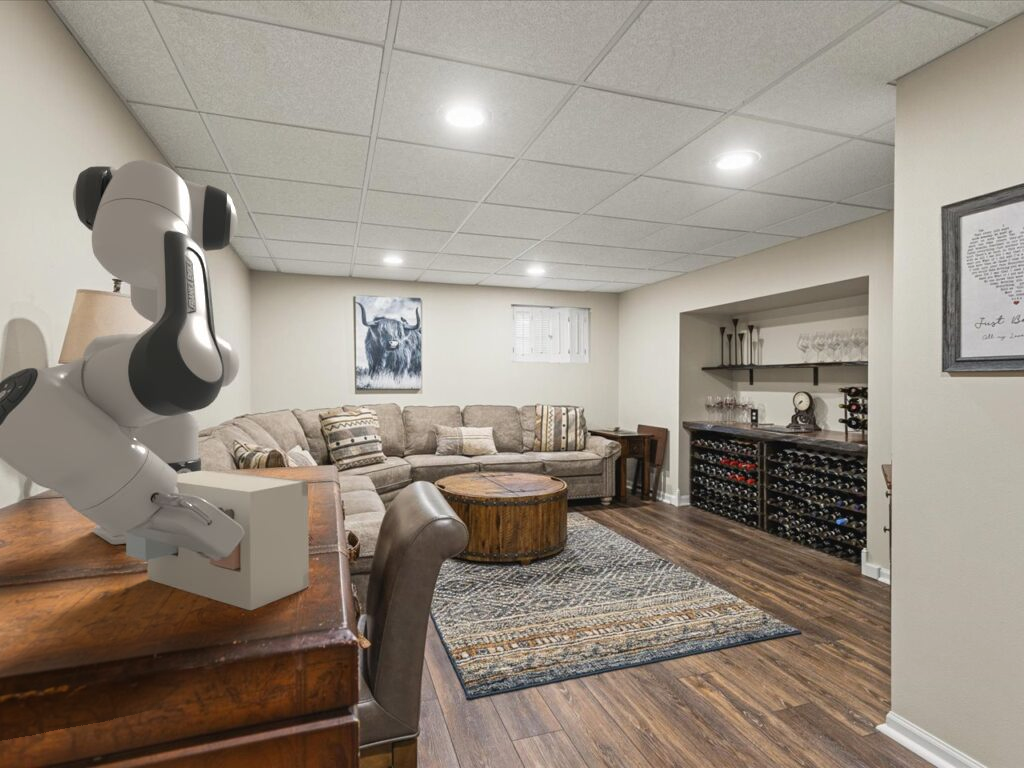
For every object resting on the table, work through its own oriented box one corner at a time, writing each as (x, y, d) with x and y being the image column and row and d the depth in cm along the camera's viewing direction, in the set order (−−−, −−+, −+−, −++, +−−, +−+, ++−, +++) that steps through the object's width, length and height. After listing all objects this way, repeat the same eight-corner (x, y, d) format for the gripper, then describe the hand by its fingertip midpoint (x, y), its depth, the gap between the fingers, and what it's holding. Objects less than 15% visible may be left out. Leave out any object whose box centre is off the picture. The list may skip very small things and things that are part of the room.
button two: (209, 563, 70) (209, 525, 71) (263, 547, 78) (263, 513, 78) (233, 569, 68) (233, 530, 68) (286, 552, 75) (286, 516, 75)
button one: (126, 555, 74) (126, 519, 74) (184, 540, 81) (184, 508, 81) (145, 560, 72) (145, 523, 72) (204, 545, 79) (204, 511, 79)
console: (143, 580, 78) (142, 478, 79) (207, 561, 87) (206, 469, 87) (246, 612, 67) (245, 492, 67) (308, 587, 75) (308, 480, 75)
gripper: (205, 475, 57) (284, 543, 66) (109, 464, 67) (188, 524, 76) (161, 527, 53) (251, 591, 62) (66, 506, 63) (154, 564, 72)
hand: (215, 554), depth 69 cm, fingers closed
